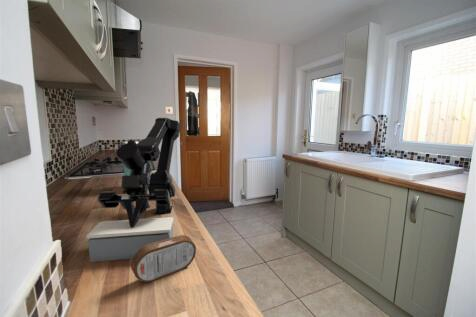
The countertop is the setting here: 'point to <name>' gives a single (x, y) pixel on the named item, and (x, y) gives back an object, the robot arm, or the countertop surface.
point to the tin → (163, 258)
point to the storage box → (122, 245)
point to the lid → (125, 230)
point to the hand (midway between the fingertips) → (131, 226)
